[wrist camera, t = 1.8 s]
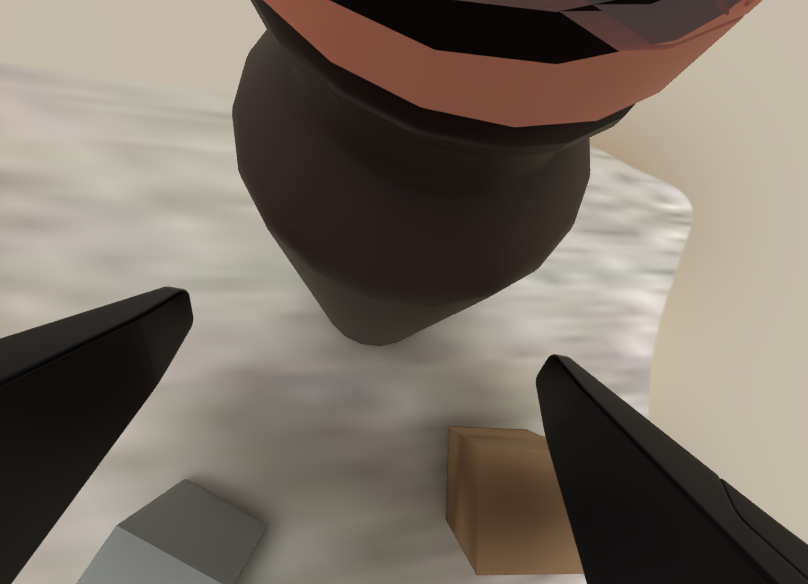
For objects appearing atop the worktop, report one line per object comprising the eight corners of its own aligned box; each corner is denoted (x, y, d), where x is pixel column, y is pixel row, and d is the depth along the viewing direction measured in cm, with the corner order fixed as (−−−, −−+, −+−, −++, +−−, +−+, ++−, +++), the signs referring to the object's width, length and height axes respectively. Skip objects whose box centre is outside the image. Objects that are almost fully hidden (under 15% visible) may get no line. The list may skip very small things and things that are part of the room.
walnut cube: (527, 519, 19) (585, 573, 14) (445, 518, 18) (476, 574, 13) (525, 429, 20) (578, 451, 15) (448, 425, 19) (478, 447, 15)
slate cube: (208, 627, 16) (141, 746, 11) (119, 578, 16) (12, 676, 11) (267, 524, 17) (231, 589, 12) (185, 478, 17) (116, 525, 12)
